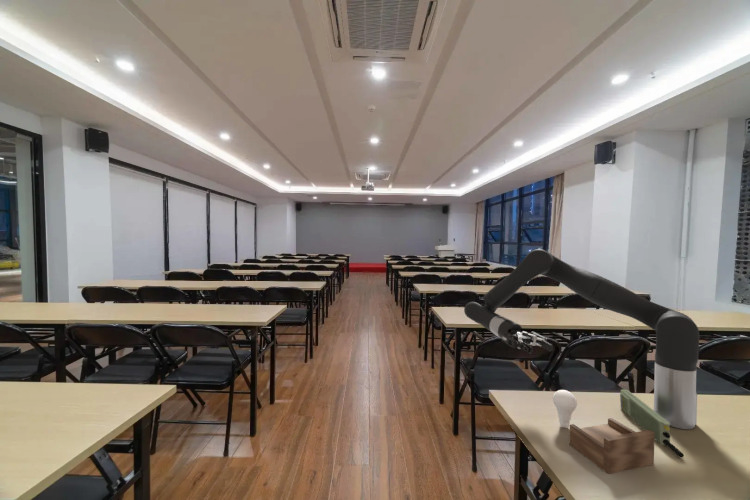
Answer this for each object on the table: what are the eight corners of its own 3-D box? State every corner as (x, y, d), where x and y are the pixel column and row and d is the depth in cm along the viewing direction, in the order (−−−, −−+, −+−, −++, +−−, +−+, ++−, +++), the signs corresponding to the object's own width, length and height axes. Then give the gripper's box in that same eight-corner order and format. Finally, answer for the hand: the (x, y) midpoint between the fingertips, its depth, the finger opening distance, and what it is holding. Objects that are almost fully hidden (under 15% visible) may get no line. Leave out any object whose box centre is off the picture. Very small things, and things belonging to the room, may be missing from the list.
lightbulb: (548, 426, 95) (549, 390, 95) (557, 419, 99) (558, 384, 99) (571, 436, 90) (571, 398, 90) (579, 428, 94) (580, 391, 94)
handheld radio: (630, 409, 105) (689, 461, 80) (619, 409, 106) (674, 460, 81) (629, 389, 105) (688, 435, 80) (618, 389, 105) (673, 434, 81)
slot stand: (611, 437, 90) (611, 409, 90) (653, 464, 79) (654, 432, 79) (569, 444, 87) (569, 415, 86) (608, 473, 76) (608, 440, 76)
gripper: (491, 320, 113) (527, 340, 98) (522, 318, 118) (560, 337, 103) (488, 340, 114) (522, 362, 99) (518, 337, 119) (556, 358, 104)
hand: (542, 349), depth 101 cm, fingers open, 8 cm apart
